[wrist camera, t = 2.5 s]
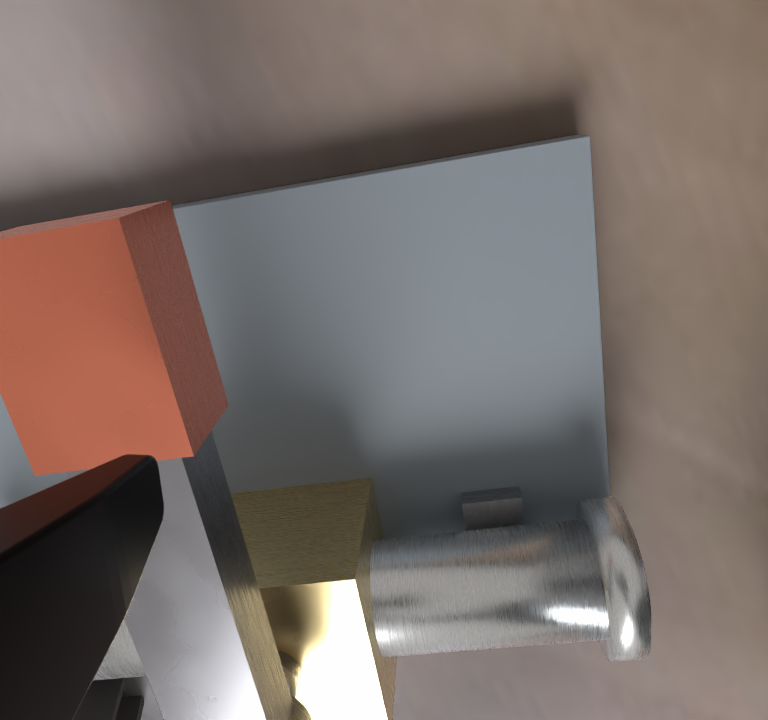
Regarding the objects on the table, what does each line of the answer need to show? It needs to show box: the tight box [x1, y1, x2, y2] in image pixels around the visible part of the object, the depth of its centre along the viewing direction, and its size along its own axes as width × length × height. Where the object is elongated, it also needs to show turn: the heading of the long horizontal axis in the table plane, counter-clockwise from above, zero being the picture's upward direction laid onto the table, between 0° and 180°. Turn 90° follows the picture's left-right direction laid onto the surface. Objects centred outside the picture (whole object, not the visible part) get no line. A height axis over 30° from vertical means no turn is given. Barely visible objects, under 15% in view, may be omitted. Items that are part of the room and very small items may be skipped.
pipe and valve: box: [93, 478, 651, 720], centre depth 21 cm, size 22×6×7 cm, turn 100°
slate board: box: [0, 134, 610, 539], centre depth 23 cm, size 22×18×2 cm
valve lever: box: [0, 200, 313, 720], centre depth 14 cm, size 15×3×2 cm, turn 10°
